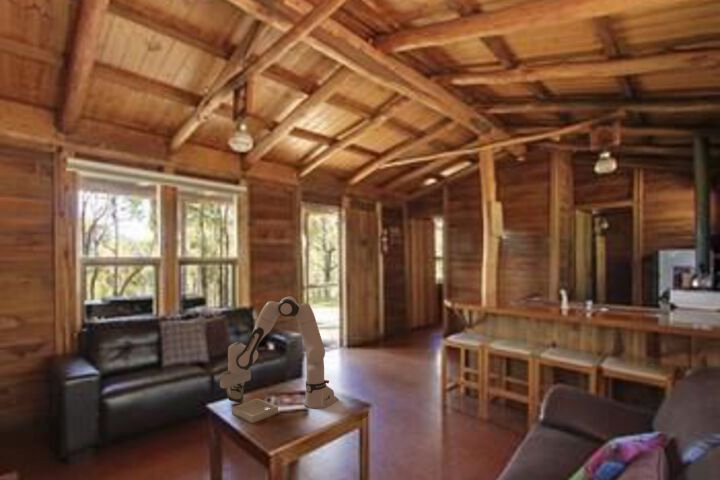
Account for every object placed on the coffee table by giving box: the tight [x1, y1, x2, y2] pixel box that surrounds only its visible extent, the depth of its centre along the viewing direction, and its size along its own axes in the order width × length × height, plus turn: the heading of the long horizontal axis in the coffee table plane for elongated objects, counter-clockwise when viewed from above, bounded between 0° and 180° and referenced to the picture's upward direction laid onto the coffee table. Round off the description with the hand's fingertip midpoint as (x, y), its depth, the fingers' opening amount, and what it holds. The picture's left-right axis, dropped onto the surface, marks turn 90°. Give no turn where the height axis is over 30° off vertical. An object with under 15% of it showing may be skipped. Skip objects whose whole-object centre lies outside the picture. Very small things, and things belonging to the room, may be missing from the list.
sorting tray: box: [231, 397, 279, 424], centre depth 243 cm, size 18×20×4 cm
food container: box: [224, 383, 244, 404], centre depth 258 cm, size 12×6×10 cm, turn 70°
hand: (235, 391), depth 256 cm, fingers closed on food container, 6 cm apart
